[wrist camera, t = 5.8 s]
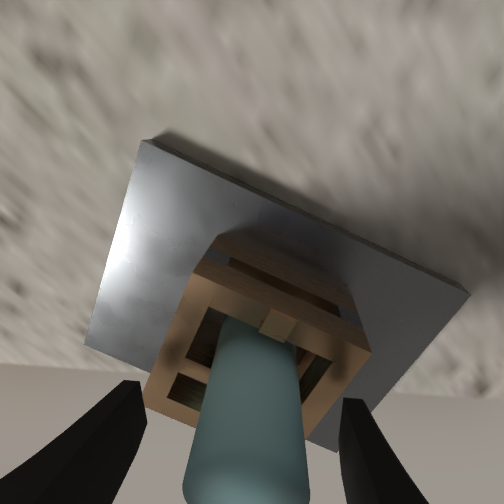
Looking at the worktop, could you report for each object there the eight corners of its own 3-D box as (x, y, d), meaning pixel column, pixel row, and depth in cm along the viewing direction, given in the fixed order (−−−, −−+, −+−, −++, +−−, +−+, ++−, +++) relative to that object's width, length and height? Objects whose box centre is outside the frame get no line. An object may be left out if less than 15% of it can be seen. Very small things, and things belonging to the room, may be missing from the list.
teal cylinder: (290, 291, 15) (307, 448, 8) (294, 351, 17) (313, 533, 9) (218, 296, 16) (170, 451, 8) (228, 354, 17) (194, 533, 10)
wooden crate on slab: (460, 284, 15) (537, 358, 11) (334, 437, 20) (347, 536, 15) (150, 139, 14) (80, 146, 10) (94, 334, 19) (27, 404, 14)
